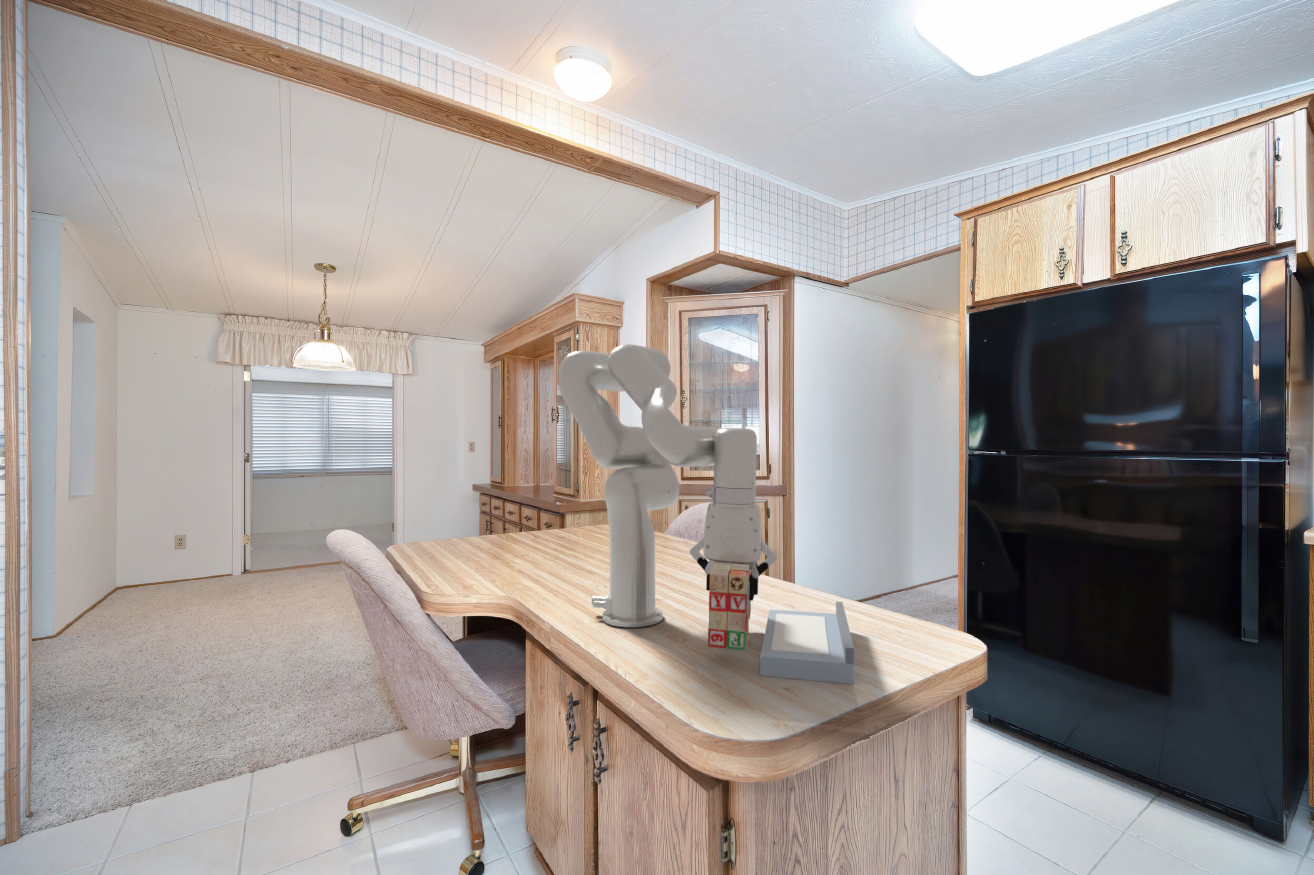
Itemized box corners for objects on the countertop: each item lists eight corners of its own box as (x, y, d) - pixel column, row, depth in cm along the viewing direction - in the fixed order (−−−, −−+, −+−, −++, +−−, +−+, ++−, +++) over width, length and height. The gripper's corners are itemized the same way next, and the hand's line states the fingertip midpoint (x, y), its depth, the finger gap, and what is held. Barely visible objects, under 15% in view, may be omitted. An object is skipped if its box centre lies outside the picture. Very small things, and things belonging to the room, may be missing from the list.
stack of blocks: (719, 607, 113) (720, 546, 113) (751, 610, 112) (752, 548, 112) (707, 647, 92) (709, 571, 92) (746, 650, 91) (748, 574, 91)
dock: (760, 675, 89) (760, 640, 89) (769, 624, 114) (769, 597, 114) (854, 684, 86) (854, 648, 86) (842, 629, 111) (842, 601, 111)
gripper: (682, 496, 100) (680, 597, 100) (782, 501, 96) (780, 607, 96) (690, 492, 107) (688, 586, 108) (784, 497, 103) (781, 595, 103)
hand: (731, 595), depth 102 cm, fingers closed on stack of blocks, 6 cm apart
